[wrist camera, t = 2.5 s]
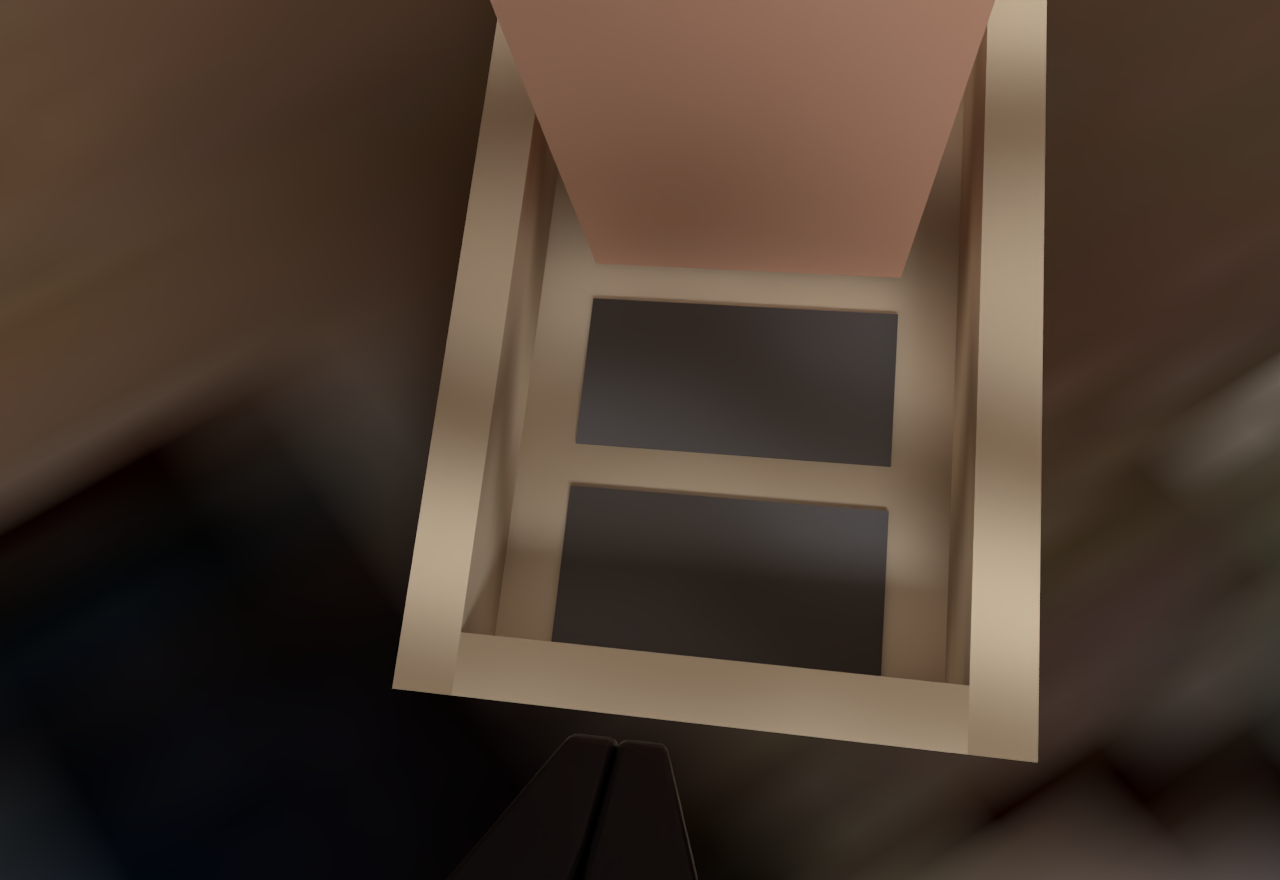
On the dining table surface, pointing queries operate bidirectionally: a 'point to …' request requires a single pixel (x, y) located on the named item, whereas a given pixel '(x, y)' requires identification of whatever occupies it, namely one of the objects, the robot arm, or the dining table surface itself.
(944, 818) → the dining table surface
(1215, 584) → the dining table surface
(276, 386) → the dining table surface
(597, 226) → the block
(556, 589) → the beige tray
